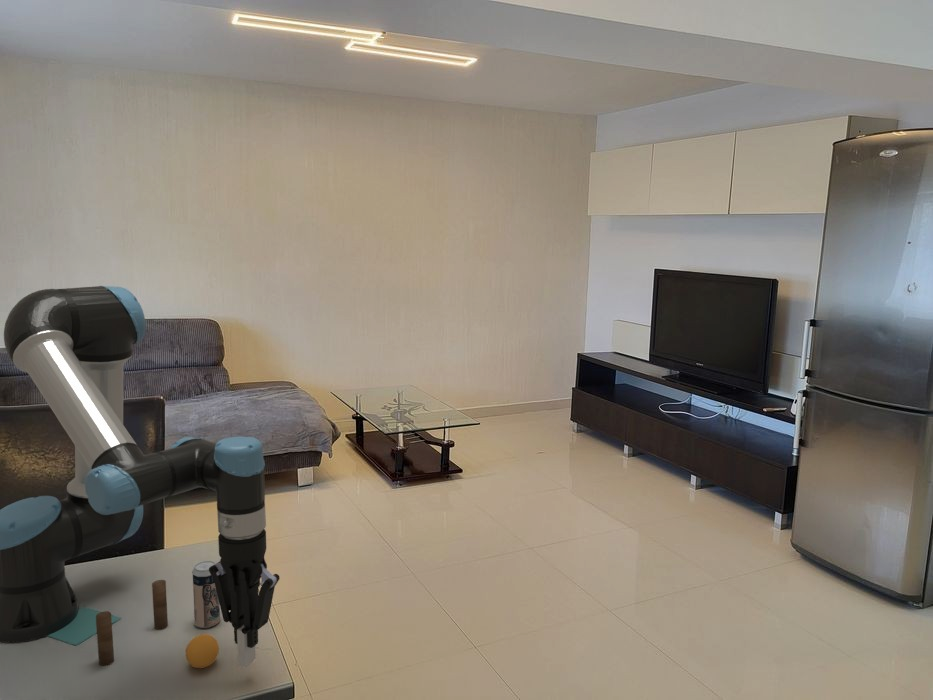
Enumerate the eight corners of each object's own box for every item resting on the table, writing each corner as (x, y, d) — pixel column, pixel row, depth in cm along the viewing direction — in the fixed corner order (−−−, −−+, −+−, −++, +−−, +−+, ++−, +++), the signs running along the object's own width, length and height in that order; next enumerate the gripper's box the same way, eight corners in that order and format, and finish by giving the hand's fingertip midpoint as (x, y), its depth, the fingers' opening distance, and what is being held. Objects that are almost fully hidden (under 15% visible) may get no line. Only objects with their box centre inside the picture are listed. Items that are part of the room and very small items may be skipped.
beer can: (211, 631, 133) (209, 573, 131) (189, 628, 134) (186, 570, 132) (225, 618, 138) (223, 561, 136) (203, 614, 139) (201, 558, 137)
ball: (179, 669, 121) (177, 641, 120) (202, 652, 126) (200, 625, 125) (204, 678, 119) (202, 648, 118) (226, 660, 124) (225, 632, 123)
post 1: (95, 663, 122) (92, 616, 121) (107, 656, 125) (104, 610, 123) (105, 667, 121) (102, 619, 120) (117, 659, 124) (114, 613, 122)
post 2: (151, 627, 134) (149, 584, 132) (161, 621, 136) (158, 578, 134) (161, 630, 133) (158, 587, 131) (170, 624, 135) (168, 581, 133)
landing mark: (37, 632, 131) (37, 631, 131) (84, 607, 140) (84, 606, 140) (75, 645, 127) (75, 644, 127) (121, 618, 137) (121, 617, 136)
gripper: (194, 533, 114) (201, 664, 118) (259, 547, 109) (264, 684, 113) (226, 516, 121) (231, 641, 124) (288, 529, 116) (292, 658, 120)
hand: (247, 661), depth 119 cm, fingers closed
